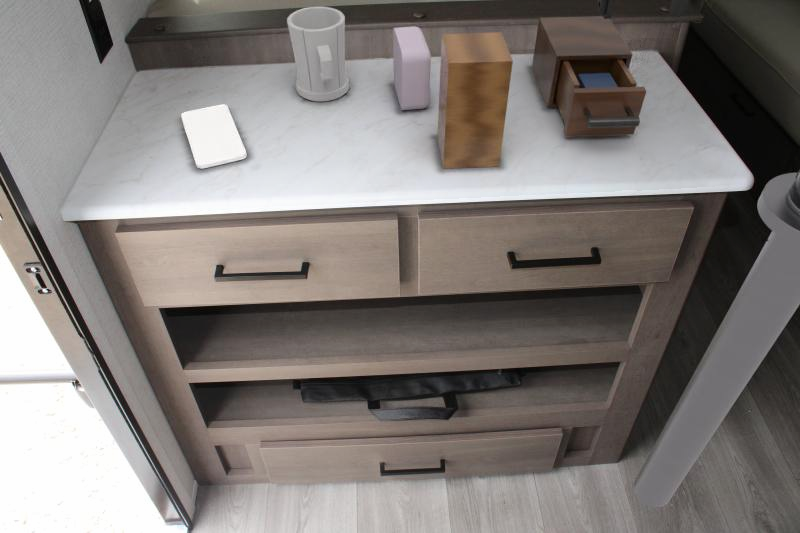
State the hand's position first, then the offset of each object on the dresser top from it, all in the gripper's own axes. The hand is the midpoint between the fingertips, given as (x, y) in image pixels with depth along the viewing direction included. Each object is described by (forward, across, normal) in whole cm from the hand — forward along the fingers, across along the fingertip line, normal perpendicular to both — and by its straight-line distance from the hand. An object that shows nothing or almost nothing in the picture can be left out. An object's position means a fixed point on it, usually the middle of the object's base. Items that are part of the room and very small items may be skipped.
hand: (639, 15), depth 78 cm
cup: (+20, -42, +18) cm, 50 cm away
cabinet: (+20, -1, +18) cm, 27 cm away
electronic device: (+20, -28, +16) cm, 38 cm away
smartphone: (+19, -58, +5) cm, 61 cm away
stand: (+20, -20, 0) cm, 28 cm away
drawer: (+19, -1, +6) cm, 20 cm away
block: (+18, -1, +8) cm, 19 cm away
